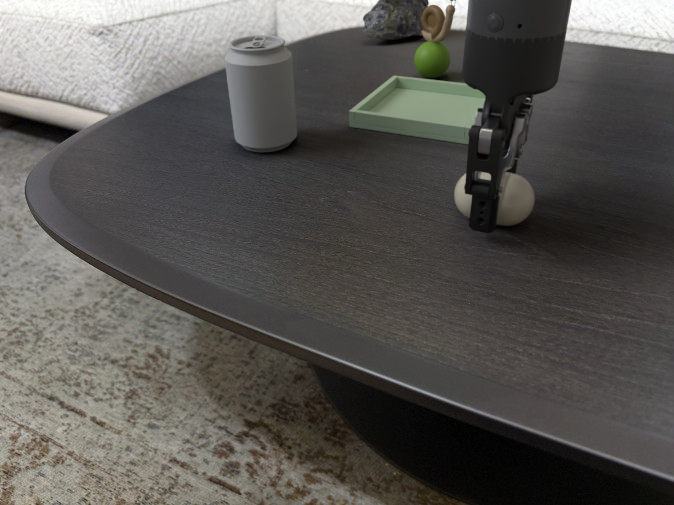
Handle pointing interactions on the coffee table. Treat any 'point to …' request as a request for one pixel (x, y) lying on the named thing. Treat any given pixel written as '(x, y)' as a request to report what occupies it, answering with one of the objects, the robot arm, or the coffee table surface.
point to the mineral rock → (395, 19)
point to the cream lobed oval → (502, 199)
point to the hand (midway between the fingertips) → (491, 210)
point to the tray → (420, 109)
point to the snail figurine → (434, 42)
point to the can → (261, 92)
